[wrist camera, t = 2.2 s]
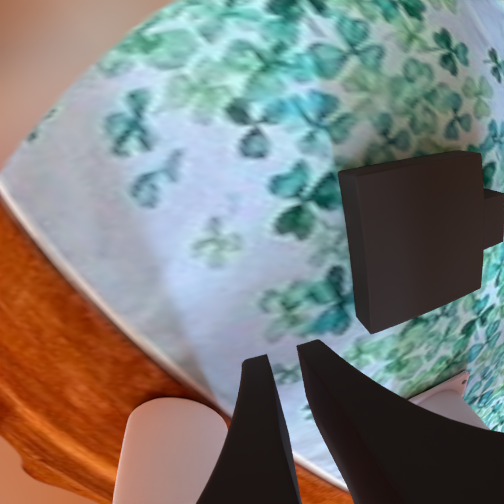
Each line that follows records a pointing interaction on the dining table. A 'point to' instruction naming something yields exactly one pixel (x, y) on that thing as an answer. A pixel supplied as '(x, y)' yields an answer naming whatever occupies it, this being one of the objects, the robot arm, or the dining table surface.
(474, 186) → the tab pad
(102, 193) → the dining table surface
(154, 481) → the can
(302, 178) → the dining table surface
